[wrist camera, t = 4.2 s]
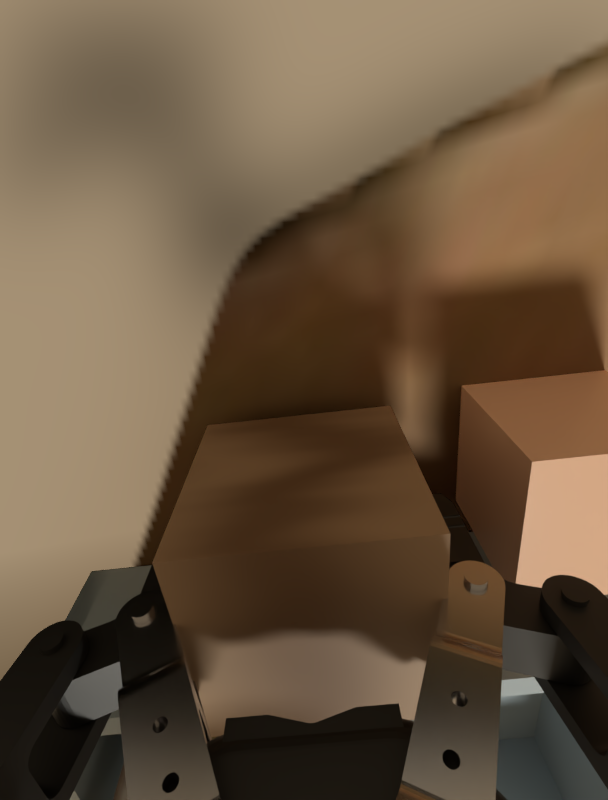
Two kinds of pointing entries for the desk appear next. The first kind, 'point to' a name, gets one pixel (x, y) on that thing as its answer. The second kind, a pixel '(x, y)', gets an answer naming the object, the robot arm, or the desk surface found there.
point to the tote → (518, 729)
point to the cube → (537, 475)
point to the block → (305, 567)
